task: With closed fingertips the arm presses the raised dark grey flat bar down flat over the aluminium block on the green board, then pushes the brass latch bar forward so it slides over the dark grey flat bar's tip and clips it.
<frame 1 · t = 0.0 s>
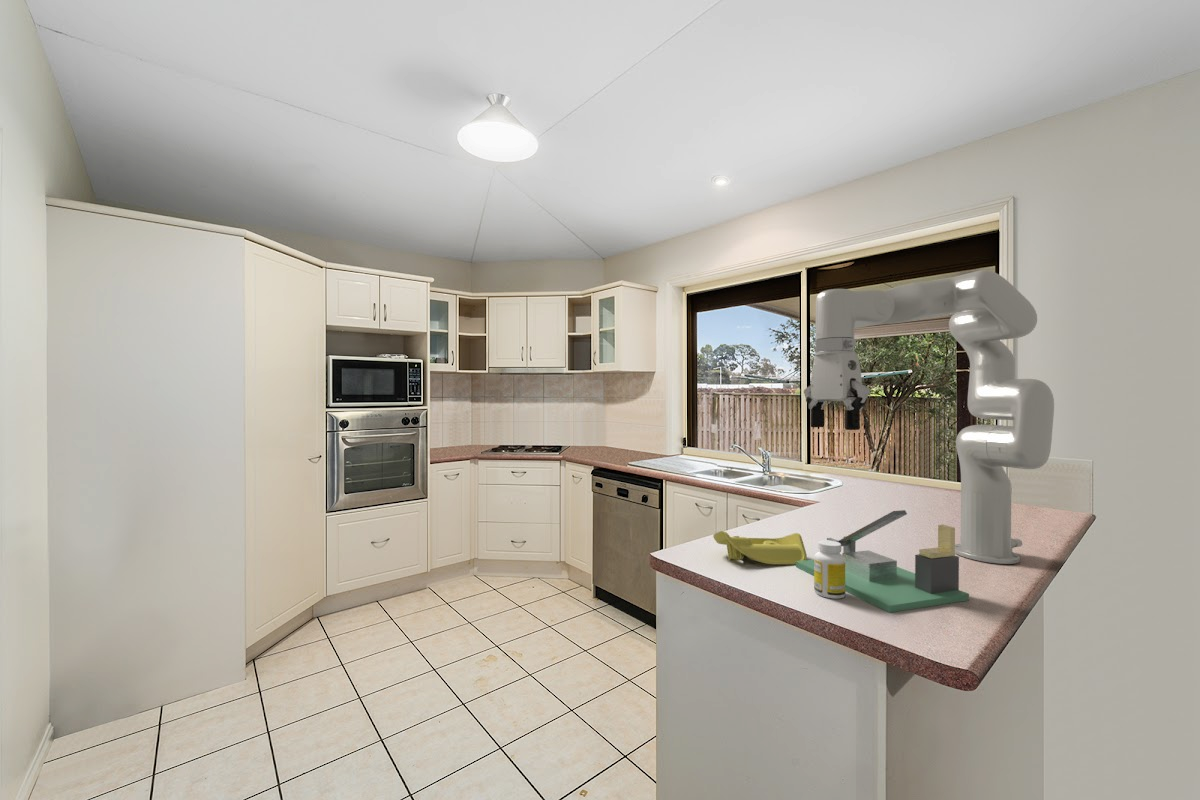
hand: (834, 428, 103), 31 cm above the counter, fingers open, 9 cm apart
latch: (937, 541, 92), point 10 cm above the counter, slide at 0.0 cm
supplement bottle: (829, 594, 92), on the counter
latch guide: (936, 595, 92), resting on board
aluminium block: (868, 579, 100), resting on board
dark grey flat bar: (867, 529, 100), point 10 cm above the counter, hinge at 35.0°
plastic component: (756, 559, 113), on the counter
board: (874, 582, 98), on the counter
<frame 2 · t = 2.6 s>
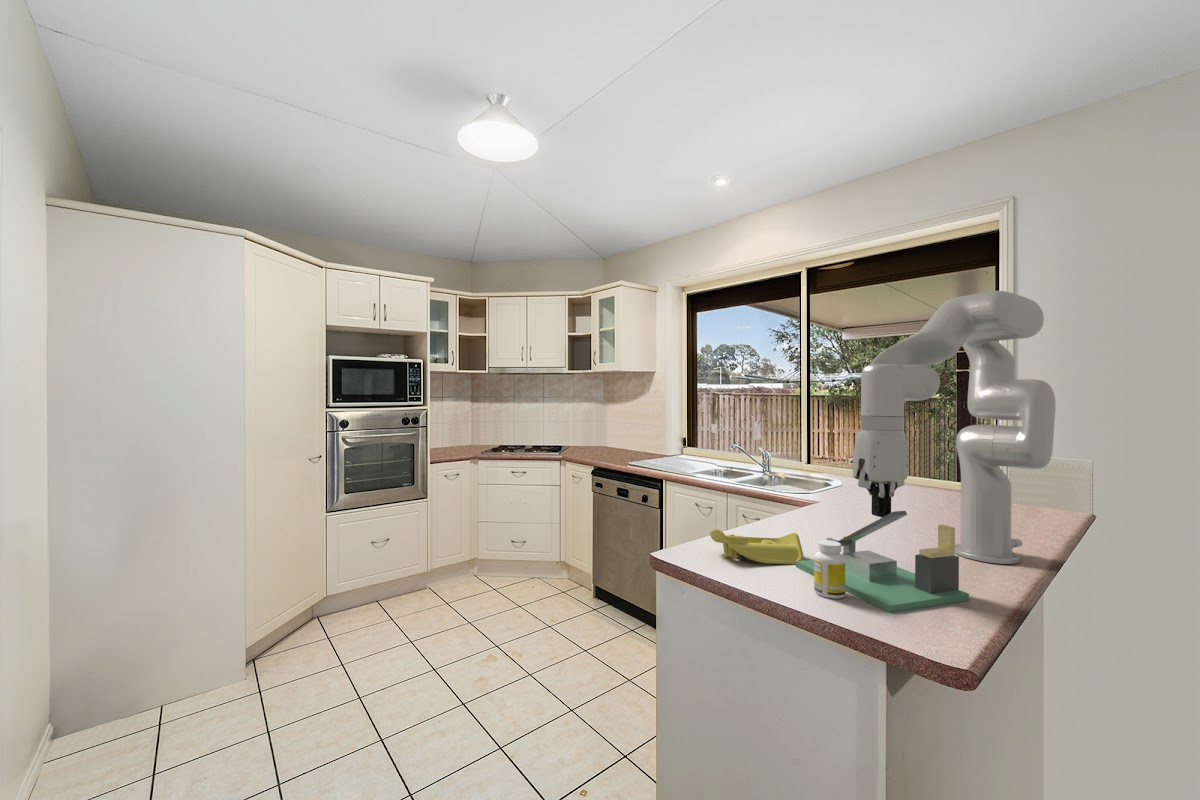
hand: (881, 516, 97), 14 cm above the counter, fingers closed
dark grey flat bar: (867, 530, 100), point 10 cm above the counter, hinge at 34.7°, touching gripper
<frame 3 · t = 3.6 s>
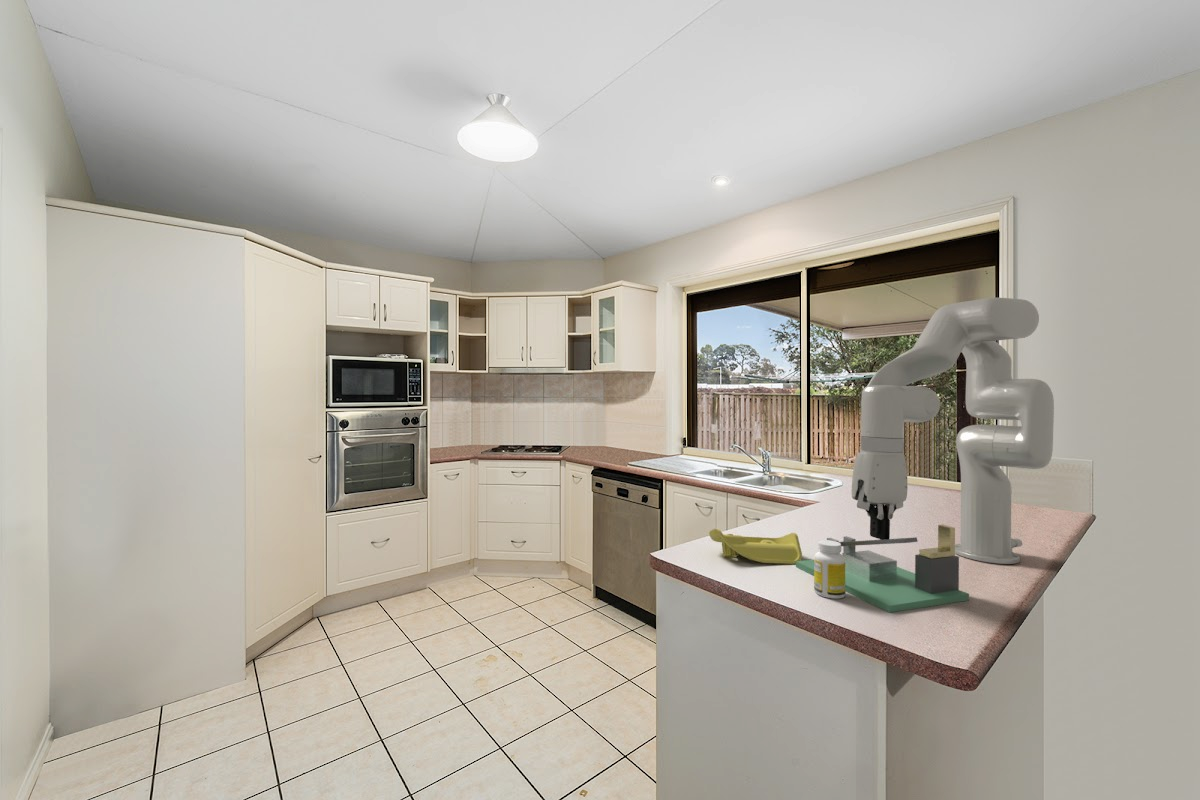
hand: (879, 537, 96), 10 cm above the counter, fingers closed
dark grey flat bar: (872, 542, 99), point 8 cm above the counter, hinge at 18.2°, touching gripper
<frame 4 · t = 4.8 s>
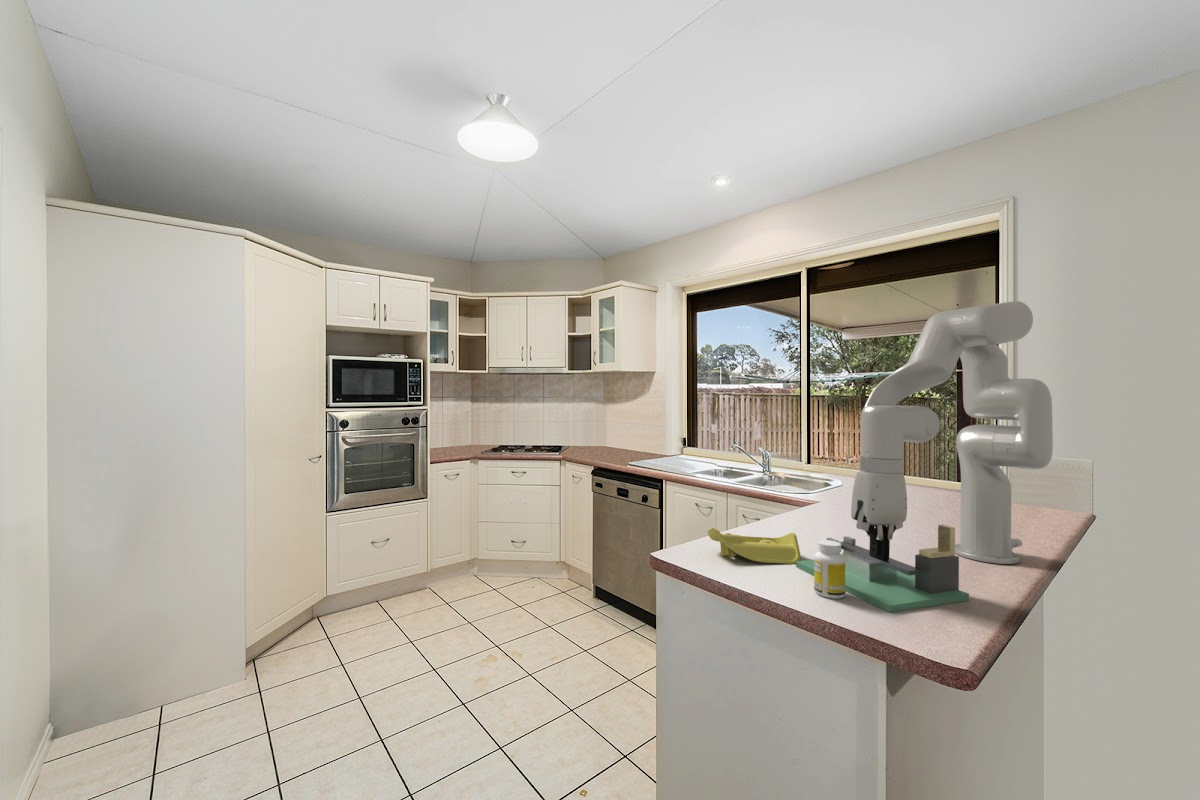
hand: (879, 558, 96), 6 cm above the counter, fingers closed
dark grey flat bar: (873, 556, 99), point 5 cm above the counter, hinge at -0.6°, touching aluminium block, gripper
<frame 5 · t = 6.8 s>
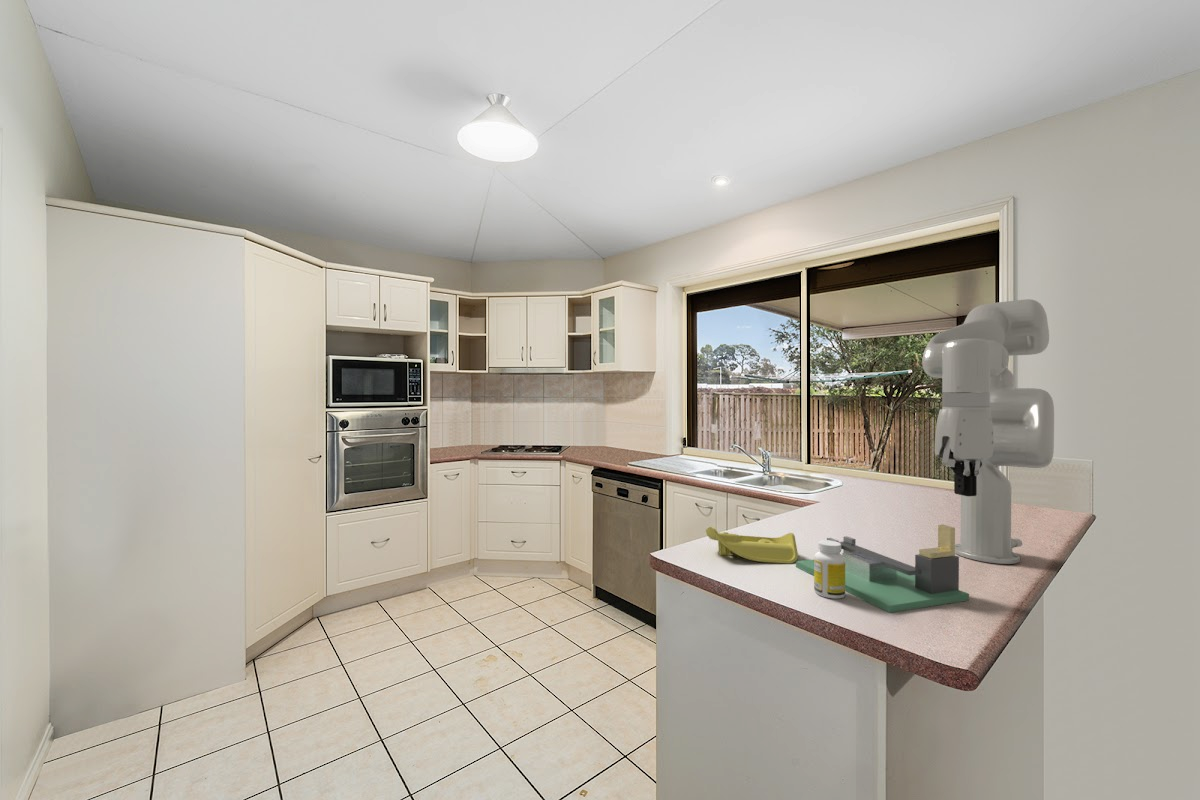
hand: (965, 494, 95), 19 cm above the counter, fingers closed
dark grey flat bar: (873, 556, 99), point 5 cm above the counter, hinge at -0.5°, touching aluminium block
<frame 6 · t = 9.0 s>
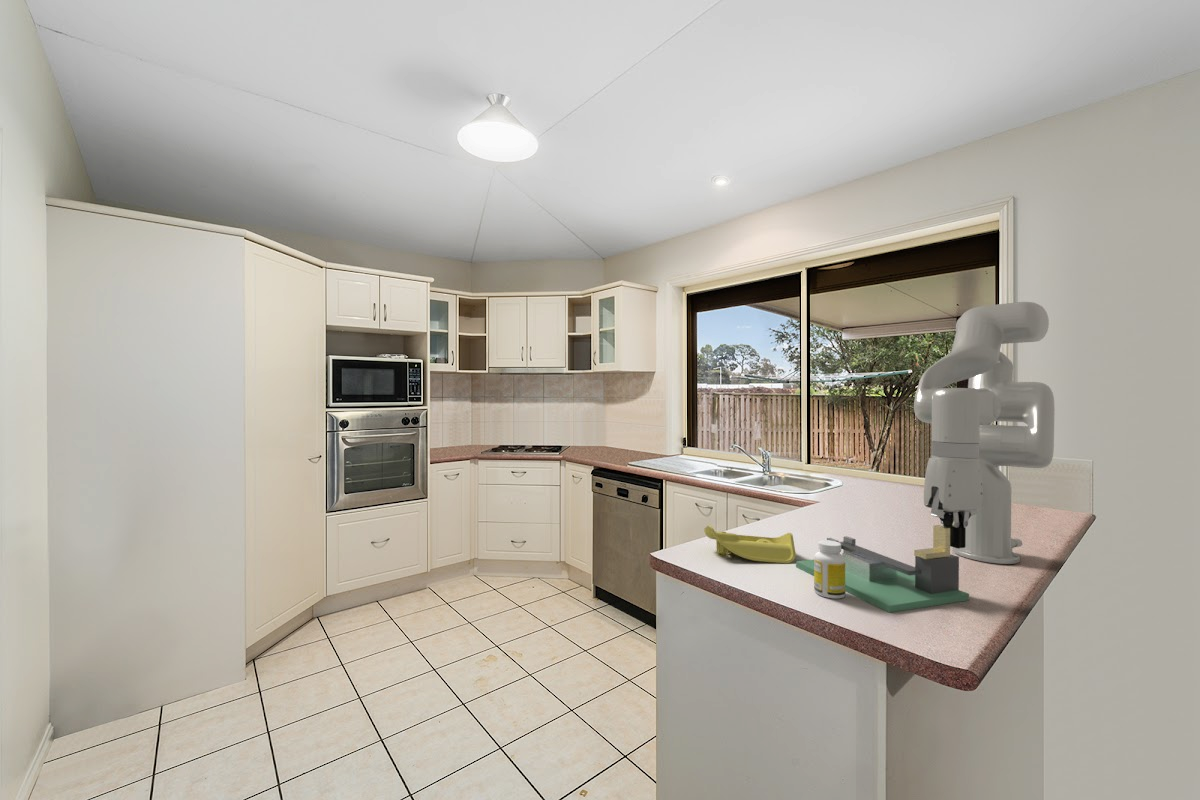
hand: (954, 545, 93), 9 cm above the counter, fingers closed
latch: (932, 541, 92), point 10 cm above the counter, slide at 1.3 cm, touching gripper
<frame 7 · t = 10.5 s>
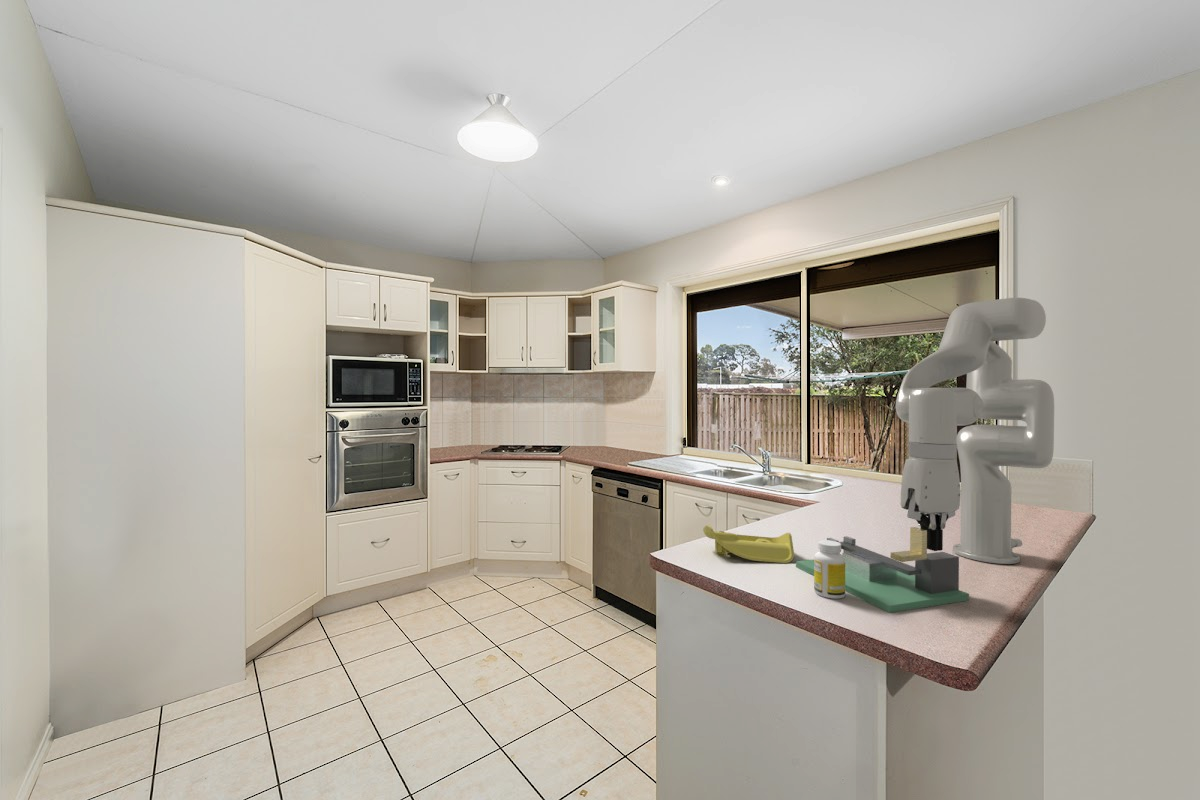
hand: (931, 548, 91), 9 cm above the counter, fingers closed
latch: (908, 544, 90), point 10 cm above the counter, slide at 7.1 cm, touching gripper
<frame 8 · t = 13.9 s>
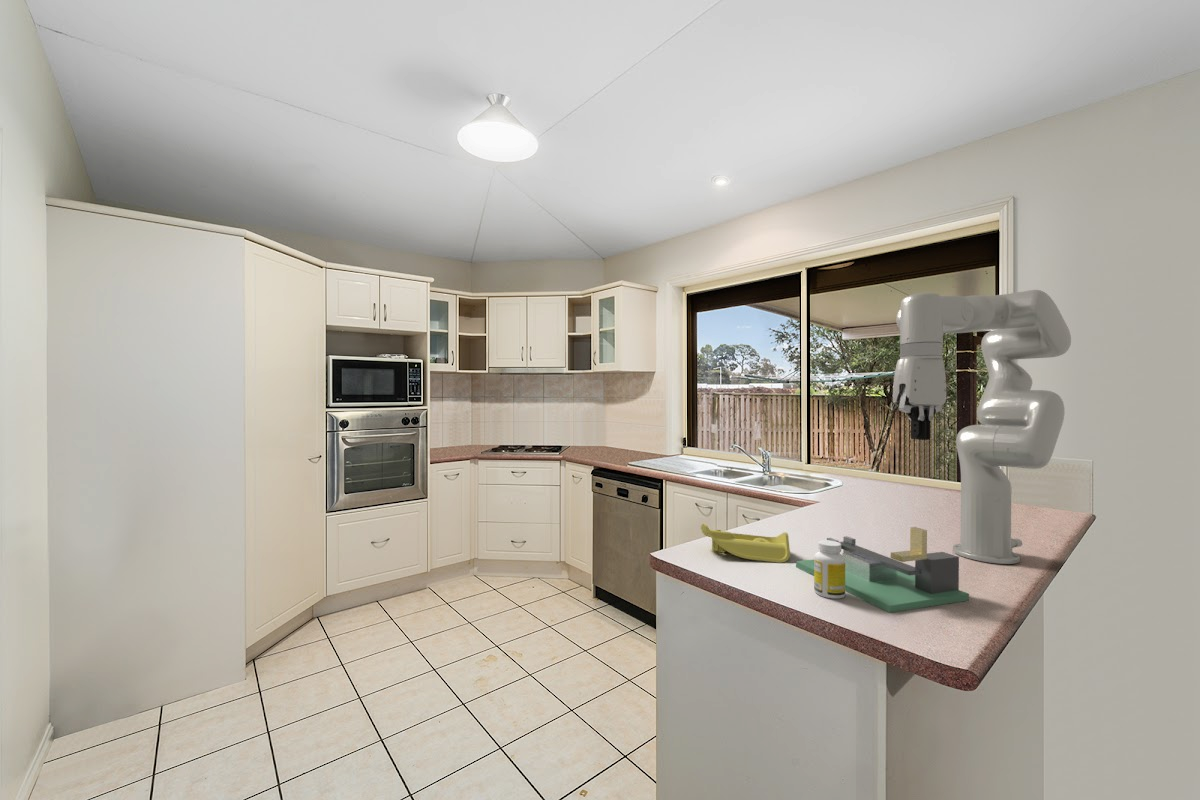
hand: (920, 439, 102), 29 cm above the counter, fingers closed
latch: (908, 544, 90), point 10 cm above the counter, slide at 7.1 cm
at the end: dark grey flat bar at +0° (first picture: +35°); latch slide at 7.1 cm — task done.
